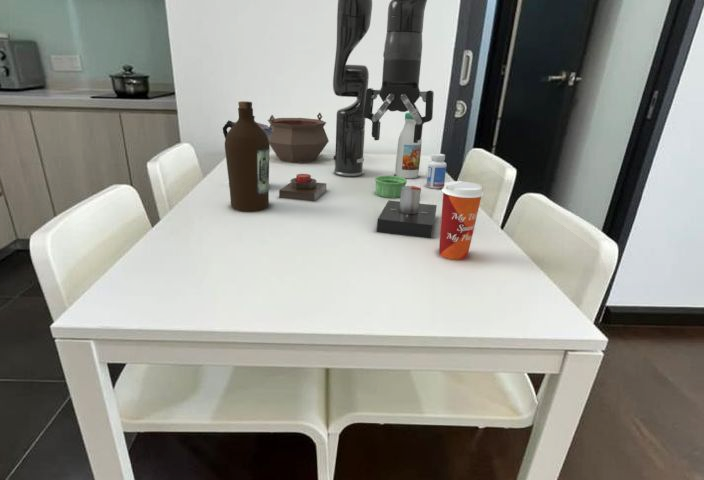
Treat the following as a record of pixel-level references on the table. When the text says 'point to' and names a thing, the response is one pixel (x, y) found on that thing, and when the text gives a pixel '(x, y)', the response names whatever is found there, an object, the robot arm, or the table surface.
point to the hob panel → (407, 220)
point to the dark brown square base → (303, 190)
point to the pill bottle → (436, 171)
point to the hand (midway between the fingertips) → (395, 141)
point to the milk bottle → (408, 151)
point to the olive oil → (247, 162)
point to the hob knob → (410, 199)
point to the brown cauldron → (297, 138)
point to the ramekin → (389, 186)
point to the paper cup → (458, 218)
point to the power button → (303, 178)
